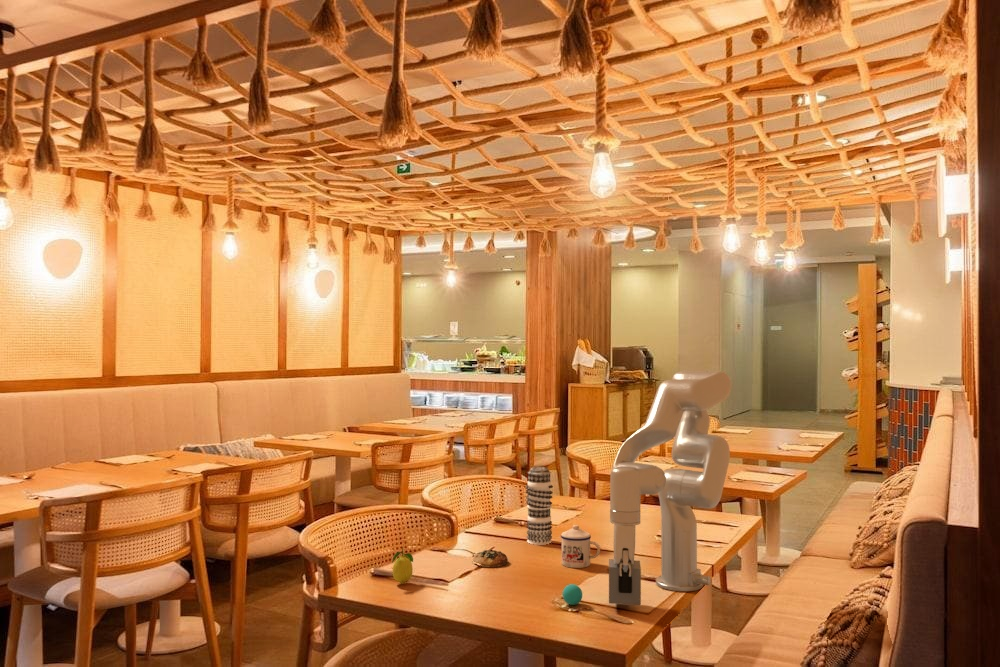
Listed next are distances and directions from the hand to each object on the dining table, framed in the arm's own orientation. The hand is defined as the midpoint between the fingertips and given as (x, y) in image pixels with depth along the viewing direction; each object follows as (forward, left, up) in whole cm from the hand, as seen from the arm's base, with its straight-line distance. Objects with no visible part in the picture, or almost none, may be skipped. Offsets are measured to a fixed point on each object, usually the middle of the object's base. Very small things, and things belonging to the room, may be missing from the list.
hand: (624, 587), depth 187 cm
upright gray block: (0, 0, -3) cm, 3 cm away
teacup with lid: (+29, -26, -5) cm, 40 cm away
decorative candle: (+55, -41, -5) cm, 69 cm away
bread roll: (+52, -10, -6) cm, 54 cm away
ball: (+11, +6, -3) cm, 13 cm away
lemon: (+57, +21, -5) cm, 62 cm away
